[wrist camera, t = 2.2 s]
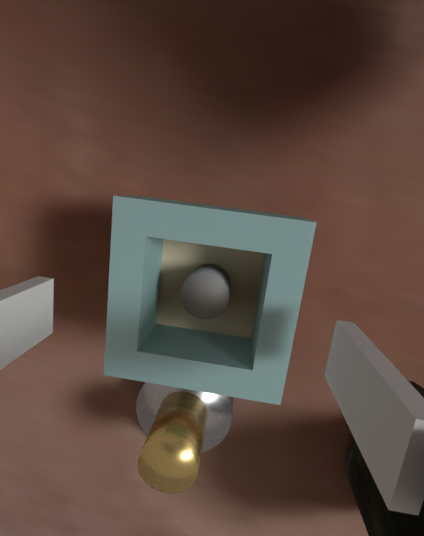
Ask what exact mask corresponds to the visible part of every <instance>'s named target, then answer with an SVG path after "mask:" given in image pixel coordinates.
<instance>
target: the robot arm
mask: <svg viewBox="0 0 424 536" xmlns="http://www.w3.org/2000/svg"><path fill="white" fill-rule="evenodd" d="M53 294H54V278H47V277H40V276H37V277H35V278H32V279H29V280H27V281H24V282H21V283H19V284H16V285H13V286H11V287H8V288H5V289H3V290H0V370H1V369H2V368H4V367H5V366H6V365H8V364H9V363H11V362H12V361H14V360H15V359H16V358H18V357H19V356H21V355H22V354H23V353H25V352H26V351H28V350H29V349H31V348H32V347H33V346H35V345H36V344H38V343H39V342H40V341H42V340H43V339H45V338H46V337H48V336H49V335H50V334H52V333H53ZM324 376H325V378H326V380H327V382H328V385H329V387H330V389H331V391H332V393H333V395H334V397H335V399H336V401H337V403H338V405H339V408H340V410H341V412H342V414H343V416H344V418H345V420H346V422H347V424H348V426H349V428H350V431H351V433H352V435H353V437H354V439H355V441H356V443H357V445H358V447H359V449H360V451H361V454H362V456H363V458H364V460H365V462H366V464H367V466H368V468H369V470H370V472H371V474H372V477H373V479H374V481H375V483H376V485H377V487H378V489H379V491H380V493H381V495H382V497H383V500H384V502H385V504H386V506H387V508H388V510H390V511H396V512H402V513H407V514H413V515H418V516H419V513H420V510H421V506H422V503H423V500H424V388H422V387H421V386H419V385H418V384H416V383H414V382H411V381H408V380H407V379H406V378H405V377H404V376H403V375H402V374H401V373H400V372H399V371H398V370H397V368H396V367H395V366H394V365H393V364H392V363H391V362H390V361H389V360H388V359H387V358H386V357H385V356H384V354H383V353H382V352H381V351H380V350H379V349H378V348H377V347H376V346H375V345H374V344H373V343H372V342H371V340H370V339H369V338H368V337H367V336H366V335H365V334H364V333H363V332H362V331H361V330H360V329H359V328H358V326H357V325H356V324H355V323H353V322H346V321H339V320H336V325H335V329H334V334H333V338H332V343H331V347H330V352H329V356H328V361H327V365H326V370H325V374H324Z"/></svg>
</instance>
